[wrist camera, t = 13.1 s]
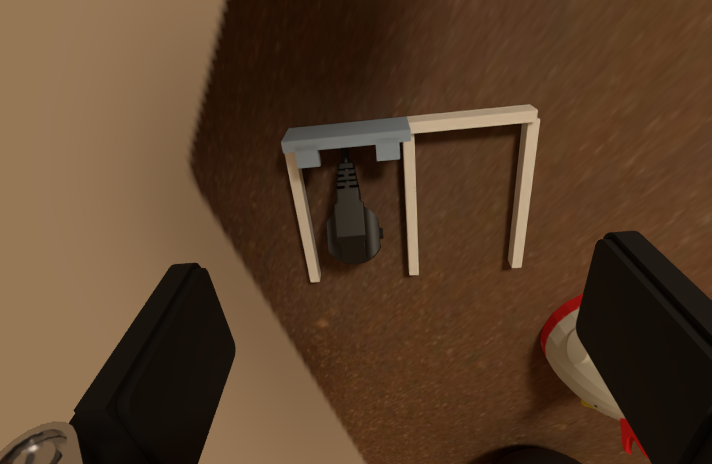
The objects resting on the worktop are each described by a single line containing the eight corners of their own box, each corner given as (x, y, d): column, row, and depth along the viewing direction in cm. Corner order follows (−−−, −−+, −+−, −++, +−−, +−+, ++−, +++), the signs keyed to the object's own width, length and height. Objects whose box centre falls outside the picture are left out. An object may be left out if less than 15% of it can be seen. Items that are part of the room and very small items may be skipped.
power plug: (373, 130, 37) (384, 261, 36) (376, 152, 45) (385, 261, 44) (312, 136, 38) (322, 266, 37) (325, 157, 45) (333, 266, 44)
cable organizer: (283, 128, 38) (275, 142, 35) (535, 103, 36) (553, 115, 33) (312, 274, 47) (308, 296, 43) (516, 259, 45) (529, 281, 42)
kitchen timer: (517, 334, 51) (568, 450, 38) (617, 267, 45) (716, 377, 33) (581, 383, 55) (647, 503, 43) (679, 328, 50) (788, 446, 37)
